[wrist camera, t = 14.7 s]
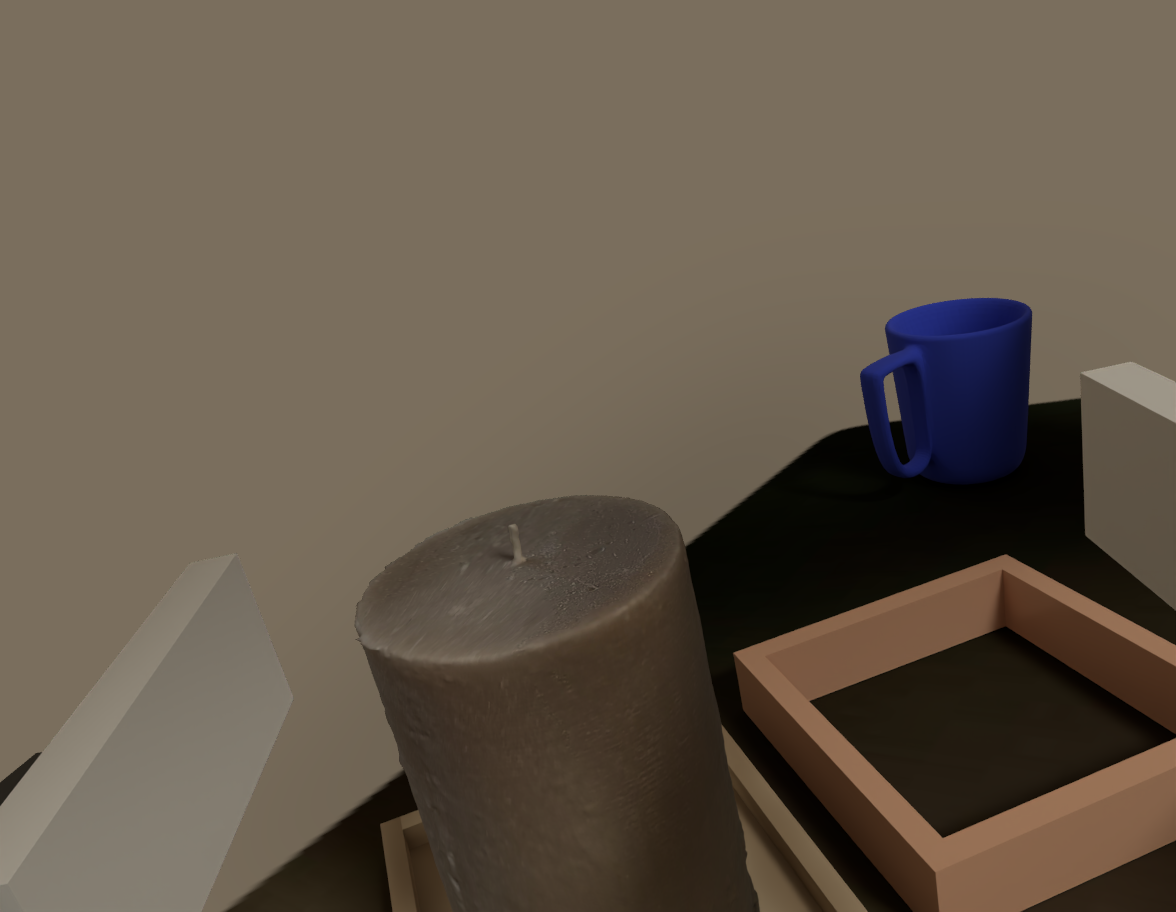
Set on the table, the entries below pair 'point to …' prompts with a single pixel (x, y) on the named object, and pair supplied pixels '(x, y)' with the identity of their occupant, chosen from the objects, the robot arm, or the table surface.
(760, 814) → the tray
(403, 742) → the pillar candle
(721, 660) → the table surface
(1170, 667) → the holder
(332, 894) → the table surface
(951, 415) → the mug
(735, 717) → the table surface
